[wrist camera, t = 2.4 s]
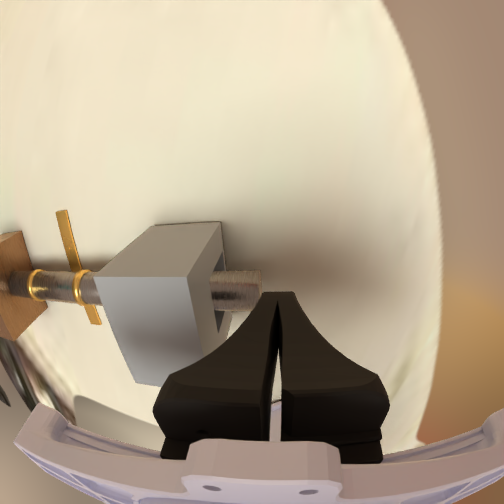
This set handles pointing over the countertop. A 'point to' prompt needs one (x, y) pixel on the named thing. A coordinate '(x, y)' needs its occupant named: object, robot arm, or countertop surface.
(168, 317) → the sleeve
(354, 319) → the countertop surface
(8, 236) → the pipe rig
